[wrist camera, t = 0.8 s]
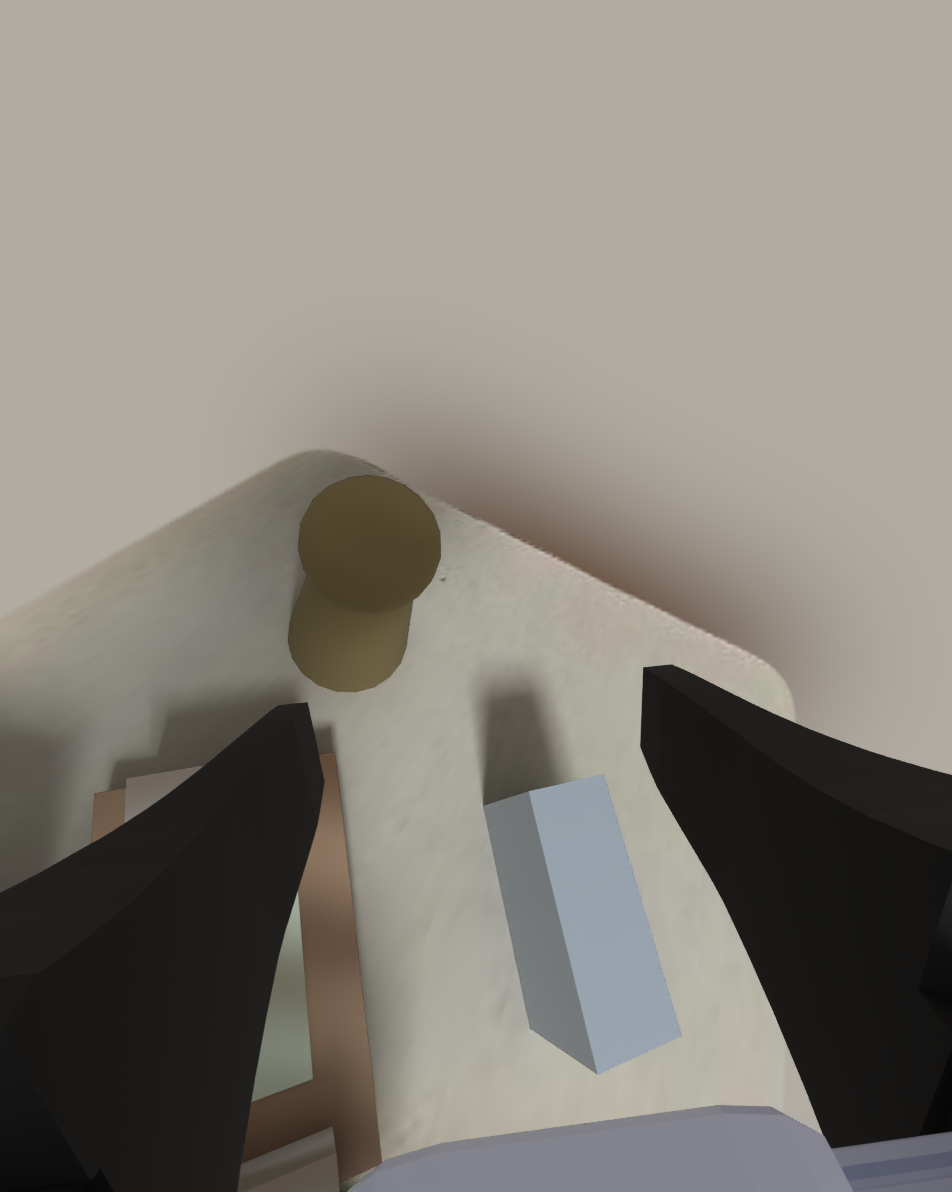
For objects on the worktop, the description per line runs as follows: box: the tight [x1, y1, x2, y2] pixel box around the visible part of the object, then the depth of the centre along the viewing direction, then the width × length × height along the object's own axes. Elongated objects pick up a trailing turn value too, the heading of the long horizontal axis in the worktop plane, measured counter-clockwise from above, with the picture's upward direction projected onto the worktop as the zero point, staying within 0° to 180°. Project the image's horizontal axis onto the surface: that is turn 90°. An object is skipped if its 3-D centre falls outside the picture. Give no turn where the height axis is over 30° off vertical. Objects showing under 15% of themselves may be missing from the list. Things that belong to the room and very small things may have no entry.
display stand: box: [92, 752, 382, 1192], centre depth 19 cm, size 14×9×4 cm, turn 13°
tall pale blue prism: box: [483, 774, 682, 1075], centre depth 23 cm, size 9×4×6 cm, turn 12°
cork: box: [288, 475, 441, 692], centre depth 23 cm, size 6×6×11 cm
